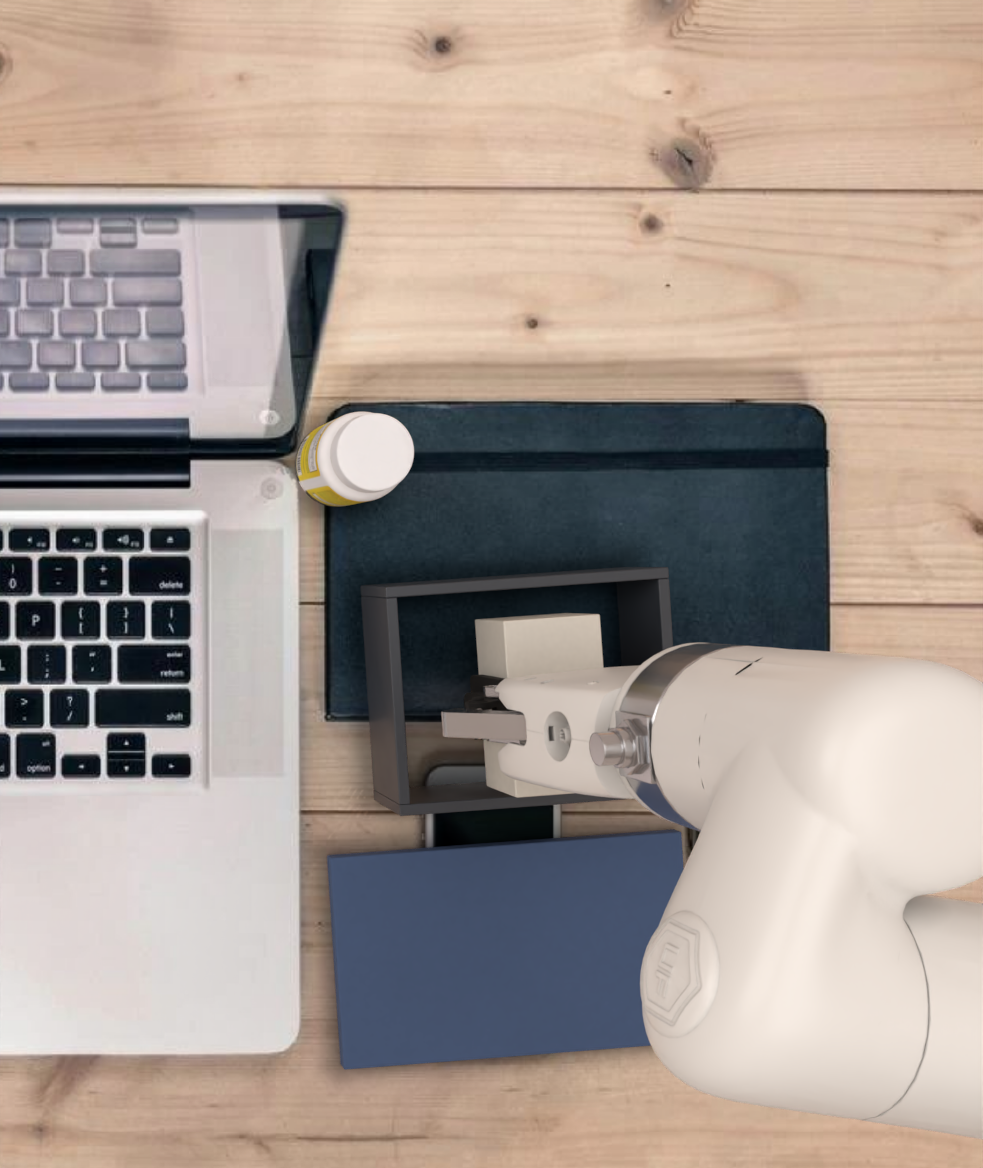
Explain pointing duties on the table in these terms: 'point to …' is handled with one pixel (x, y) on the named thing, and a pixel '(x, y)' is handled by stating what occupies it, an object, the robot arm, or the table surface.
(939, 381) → the table surface
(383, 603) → the dark grey rectangular frame
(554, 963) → the pad
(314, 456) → the supplement bottle
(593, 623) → the block
